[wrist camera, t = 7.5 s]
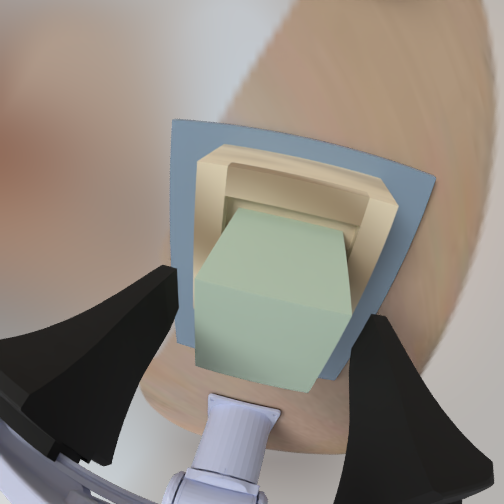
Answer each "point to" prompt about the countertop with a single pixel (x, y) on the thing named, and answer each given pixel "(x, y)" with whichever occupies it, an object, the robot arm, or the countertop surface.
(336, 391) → the countertop surface
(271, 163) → the base brick
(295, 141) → the mat
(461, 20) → the countertop surface
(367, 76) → the countertop surface
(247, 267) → the green brick
